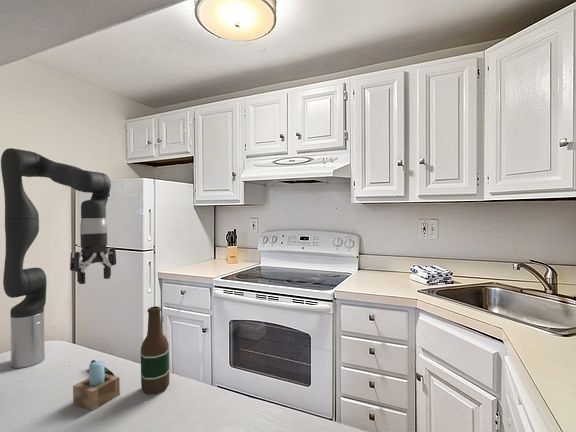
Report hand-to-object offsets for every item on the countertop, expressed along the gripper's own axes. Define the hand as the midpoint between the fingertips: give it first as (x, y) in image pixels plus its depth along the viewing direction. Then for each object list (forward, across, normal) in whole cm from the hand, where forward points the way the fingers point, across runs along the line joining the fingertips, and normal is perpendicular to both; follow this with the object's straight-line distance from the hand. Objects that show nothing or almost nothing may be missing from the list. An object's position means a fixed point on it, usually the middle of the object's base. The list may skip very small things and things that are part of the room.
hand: (94, 281), depth 104 cm
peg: (+30, +10, +15) cm, 35 cm away
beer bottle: (+30, 0, +26) cm, 40 cm away
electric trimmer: (+31, +1, +3) cm, 31 cm away
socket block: (+30, +10, +15) cm, 35 cm away
